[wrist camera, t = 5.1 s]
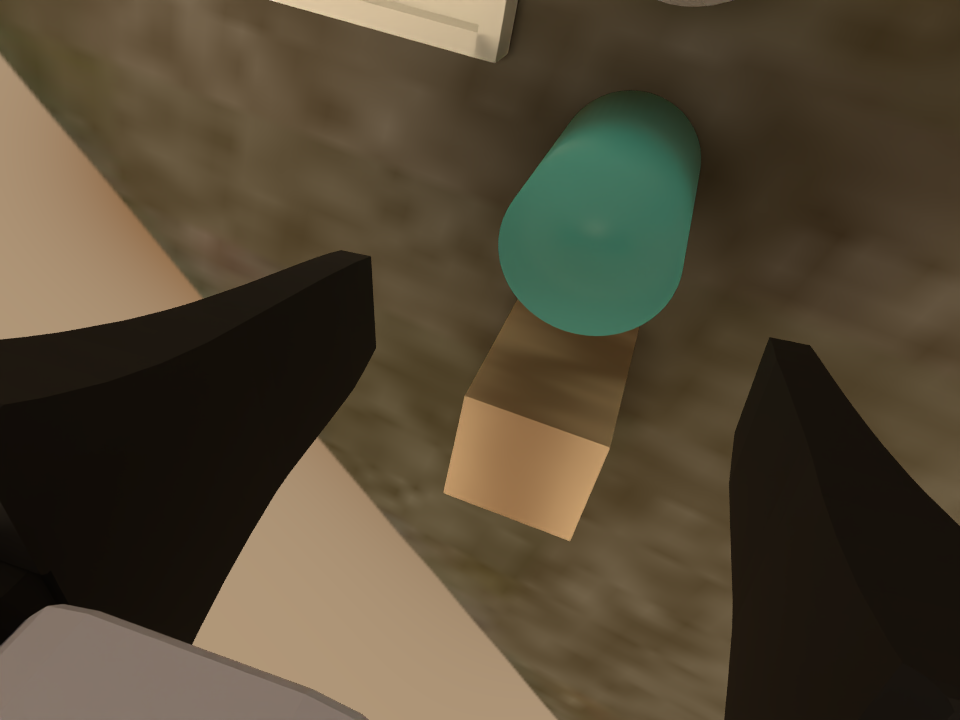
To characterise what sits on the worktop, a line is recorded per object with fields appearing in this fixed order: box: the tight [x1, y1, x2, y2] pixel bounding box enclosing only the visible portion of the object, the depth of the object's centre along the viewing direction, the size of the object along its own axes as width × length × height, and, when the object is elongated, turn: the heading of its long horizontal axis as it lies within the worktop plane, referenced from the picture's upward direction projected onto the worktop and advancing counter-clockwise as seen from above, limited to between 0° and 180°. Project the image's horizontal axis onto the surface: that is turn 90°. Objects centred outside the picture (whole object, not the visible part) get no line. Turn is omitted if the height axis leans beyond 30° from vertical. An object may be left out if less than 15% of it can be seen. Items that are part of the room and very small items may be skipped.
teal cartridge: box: [498, 90, 701, 336], centre depth 17 cm, size 4×4×6 cm
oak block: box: [444, 299, 639, 541], centre depth 21 cm, size 4×4×6 cm
